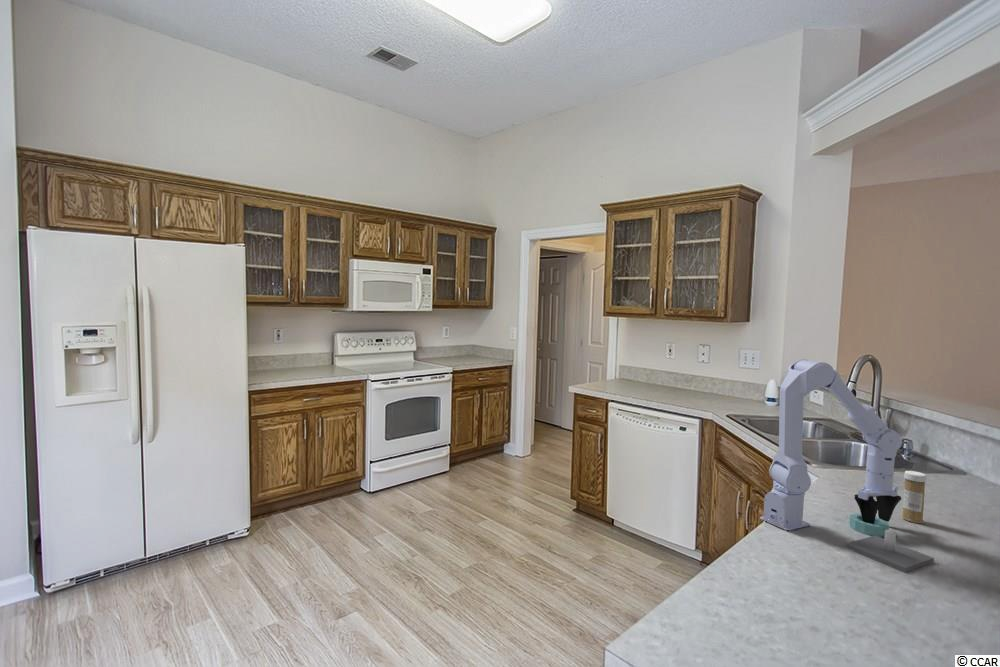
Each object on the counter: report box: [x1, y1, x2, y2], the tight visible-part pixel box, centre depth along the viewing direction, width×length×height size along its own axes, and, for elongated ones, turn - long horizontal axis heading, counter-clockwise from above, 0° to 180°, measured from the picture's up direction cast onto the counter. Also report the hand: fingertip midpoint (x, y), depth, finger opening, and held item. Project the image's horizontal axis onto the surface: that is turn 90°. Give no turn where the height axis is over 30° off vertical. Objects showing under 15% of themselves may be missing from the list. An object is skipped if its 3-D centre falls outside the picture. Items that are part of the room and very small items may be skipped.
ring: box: [849, 513, 890, 538], centre depth 127 cm, size 8×8×2 cm
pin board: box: [845, 529, 935, 573], centre depth 113 cm, size 12×12×6 cm
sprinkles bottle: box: [901, 470, 927, 524], centre depth 134 cm, size 5×5×13 cm
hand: (876, 522), depth 128 cm, fingers open, 7 cm apart
